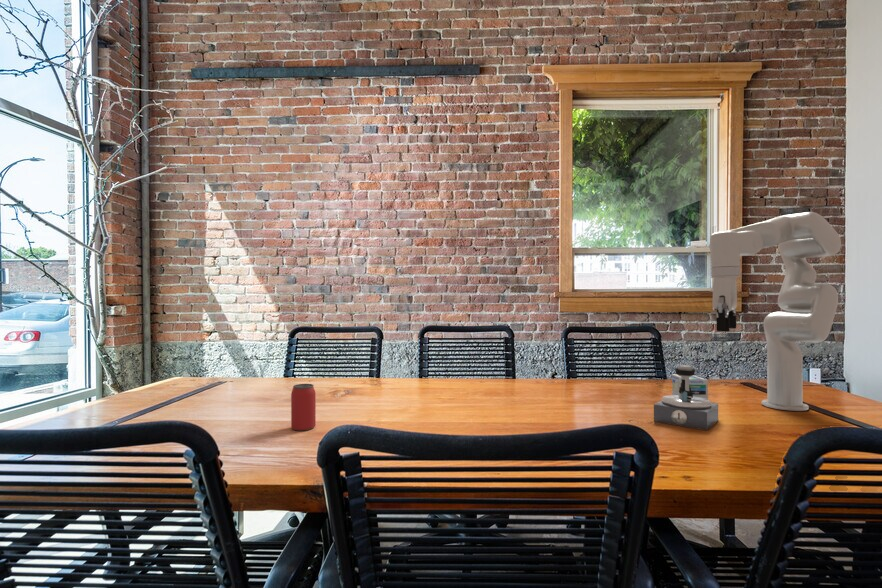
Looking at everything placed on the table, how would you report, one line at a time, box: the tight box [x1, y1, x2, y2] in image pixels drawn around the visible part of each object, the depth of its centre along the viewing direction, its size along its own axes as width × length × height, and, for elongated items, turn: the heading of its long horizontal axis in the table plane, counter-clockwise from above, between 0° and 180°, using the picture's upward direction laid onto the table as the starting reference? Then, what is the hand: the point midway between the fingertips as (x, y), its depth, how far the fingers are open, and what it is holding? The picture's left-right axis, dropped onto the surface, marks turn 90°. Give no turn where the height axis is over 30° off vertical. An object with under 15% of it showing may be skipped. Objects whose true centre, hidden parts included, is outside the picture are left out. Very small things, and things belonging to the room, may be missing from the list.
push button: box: [674, 364, 696, 401], centre depth 139 cm, size 7×5×10 cm
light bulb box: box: [671, 373, 709, 400], centre depth 153 cm, size 11×7×11 cm, turn 179°
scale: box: [653, 399, 719, 431], centre depth 139 cm, size 15×14×5 cm
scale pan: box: [661, 394, 712, 409], centre depth 139 cm, size 13×13×1 cm
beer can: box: [290, 383, 317, 432], centre depth 132 cm, size 7×7×12 cm
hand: (726, 329), depth 142 cm, fingers open, 9 cm apart
